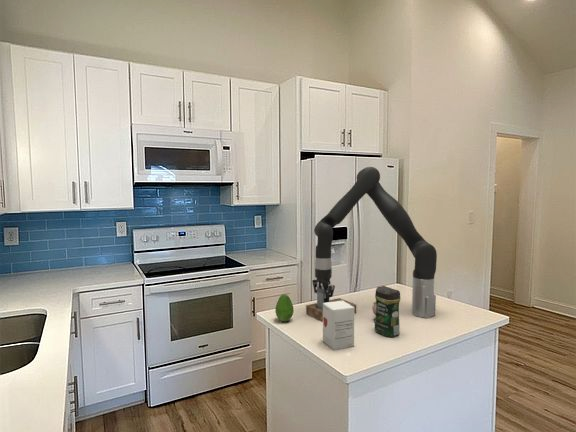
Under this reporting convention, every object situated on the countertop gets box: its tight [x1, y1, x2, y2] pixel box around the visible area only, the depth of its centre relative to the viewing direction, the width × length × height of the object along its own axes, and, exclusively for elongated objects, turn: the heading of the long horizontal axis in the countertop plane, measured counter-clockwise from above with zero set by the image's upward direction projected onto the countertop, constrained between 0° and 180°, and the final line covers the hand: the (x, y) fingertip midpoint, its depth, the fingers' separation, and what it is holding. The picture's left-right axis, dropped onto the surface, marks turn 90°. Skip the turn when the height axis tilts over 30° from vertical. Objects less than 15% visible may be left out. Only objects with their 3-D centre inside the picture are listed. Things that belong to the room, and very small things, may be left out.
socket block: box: [305, 298, 357, 323], centre depth 173 cm, size 12×20×4 cm, turn 123°
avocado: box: [274, 293, 295, 322], centre depth 164 cm, size 8×8×12 cm
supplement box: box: [322, 299, 355, 351], centre depth 140 cm, size 9×9×15 cm
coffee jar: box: [374, 285, 401, 338], centre depth 150 cm, size 10×8×19 cm
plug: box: [316, 287, 328, 310], centre depth 170 cm, size 4×4×10 cm
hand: (323, 304), depth 171 cm, fingers closed on plug, 4 cm apart
